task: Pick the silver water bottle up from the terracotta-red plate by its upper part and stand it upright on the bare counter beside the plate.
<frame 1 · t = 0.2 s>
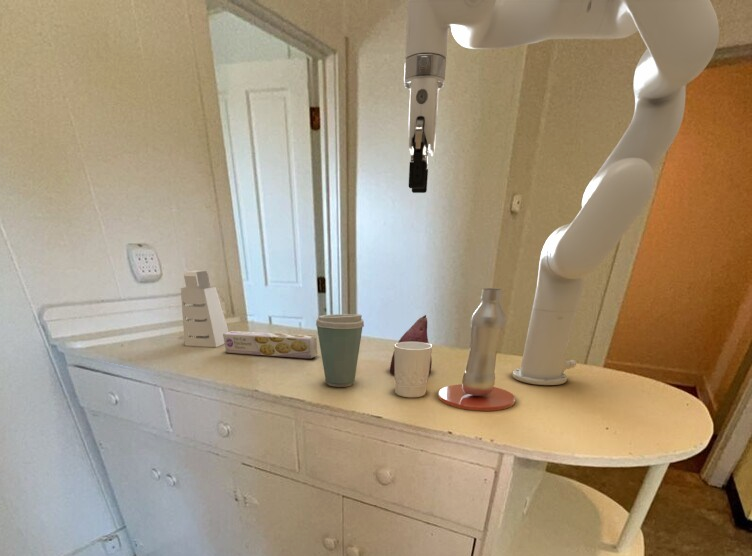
hand: (417, 190, 88), 37 cm above the countertop, tool pointing down, fingers open, 9 cm apart
box: (271, 355, 123), on the countertop
disposable coffee cup: (341, 384, 99), on the countertop
grater: (208, 343, 136), on the countertop
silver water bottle: (476, 395, 91), point 1 cm above the countertop, touching plate
plate: (475, 398, 91), on the countertop
white cup: (410, 393, 94), on the countertop
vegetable: (410, 373, 108), on the countertop
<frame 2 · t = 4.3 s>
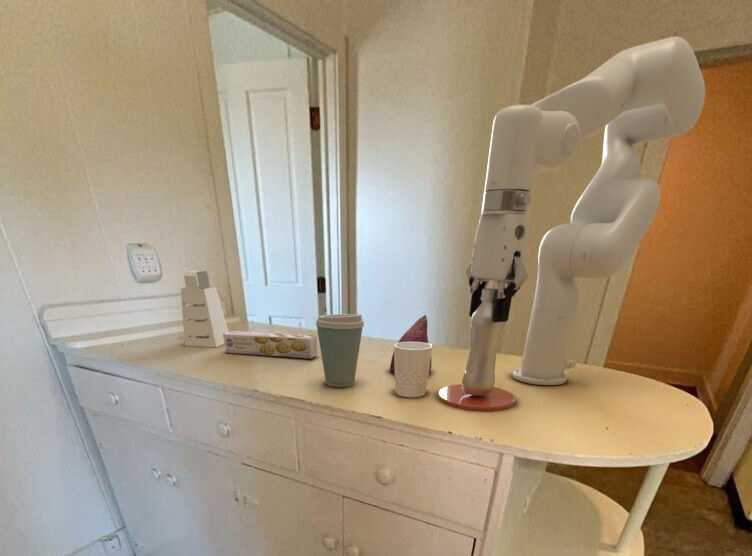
hand: (487, 318, 82), 16 cm above the countertop, tool pointing down, fingers closed on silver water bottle, 6 cm apart
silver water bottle: (476, 395, 91), point 1 cm above the countertop, touching gripper, plate
everything else where it was.
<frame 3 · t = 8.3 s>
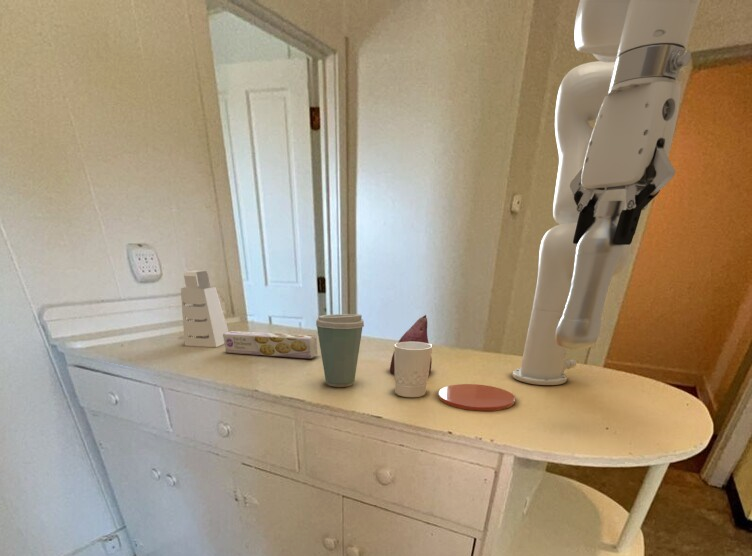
hand: (600, 242, 63), 28 cm above the countertop, tool pointing down, fingers closed on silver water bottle, 6 cm apart
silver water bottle: (572, 349, 71), point 13 cm above the countertop, touching gripper
everything else where it was.
when the fingers open (15 cm above the countertop, at t = 12.5 s): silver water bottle stays where it is, on the countertop.
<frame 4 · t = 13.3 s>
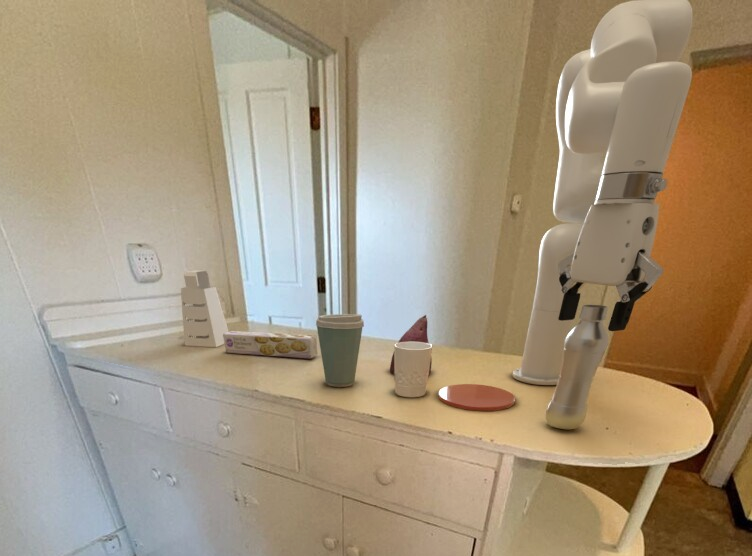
hand: (589, 324, 68), 17 cm above the countertop, tool pointing down, fingers open, 9 cm apart
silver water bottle: (561, 428, 78), on the countertop
everything else where it was.
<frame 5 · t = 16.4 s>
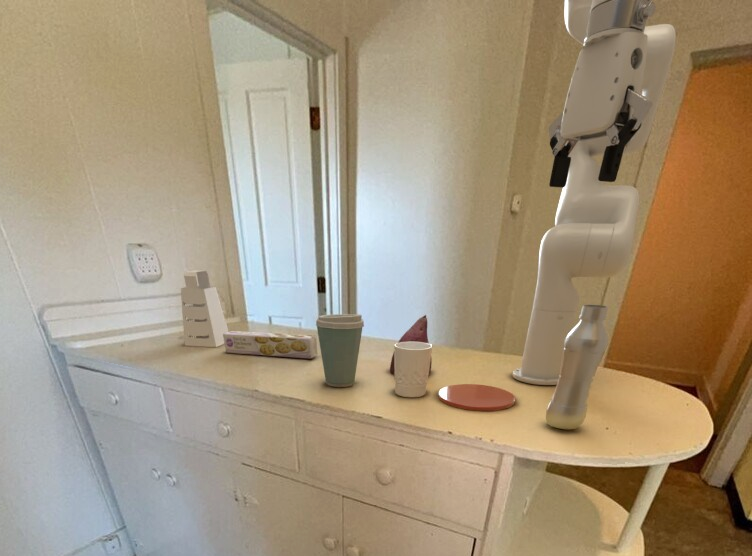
hand: (580, 184, 68), 36 cm above the countertop, tool pointing down, fingers open, 9 cm apart
nothing on the countertop moved.
at the end: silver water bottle inside the target area (0.1 cm from its centre), on the countertop; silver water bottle tilted 0°; the gripper is holding nothing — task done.
